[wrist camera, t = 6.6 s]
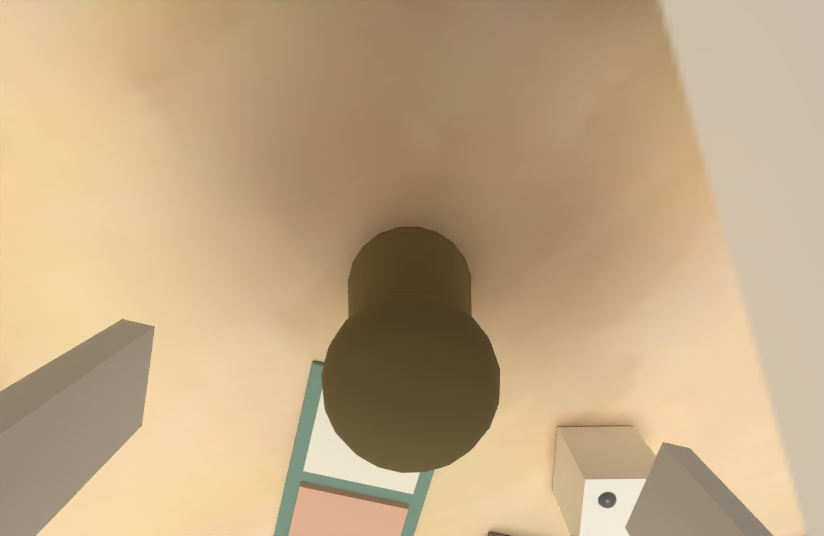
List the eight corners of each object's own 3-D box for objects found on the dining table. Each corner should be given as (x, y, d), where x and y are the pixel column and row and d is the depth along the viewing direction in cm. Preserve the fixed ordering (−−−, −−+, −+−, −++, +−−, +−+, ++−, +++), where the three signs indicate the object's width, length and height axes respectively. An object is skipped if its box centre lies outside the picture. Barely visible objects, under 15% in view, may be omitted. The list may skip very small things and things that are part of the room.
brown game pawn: (460, 215, 22) (511, 282, 11) (480, 332, 23) (541, 490, 13) (335, 239, 22) (266, 327, 11) (362, 354, 23) (325, 527, 13)
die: (557, 427, 25) (587, 484, 20) (632, 426, 25) (677, 483, 20) (552, 490, 26) (580, 557, 21) (623, 489, 26) (665, 555, 22)
